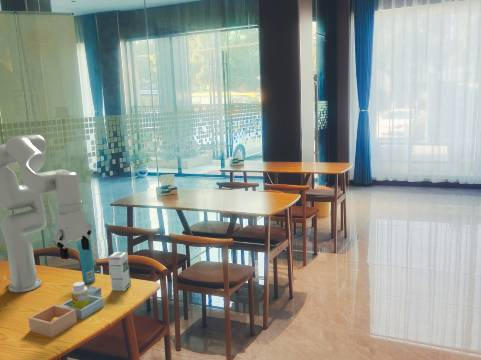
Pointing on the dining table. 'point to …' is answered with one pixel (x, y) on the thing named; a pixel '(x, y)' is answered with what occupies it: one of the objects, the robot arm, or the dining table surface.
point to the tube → (86, 262)
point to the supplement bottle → (80, 295)
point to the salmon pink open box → (46, 327)
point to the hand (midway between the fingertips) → (75, 254)
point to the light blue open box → (93, 306)
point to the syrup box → (119, 271)
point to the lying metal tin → (94, 291)
